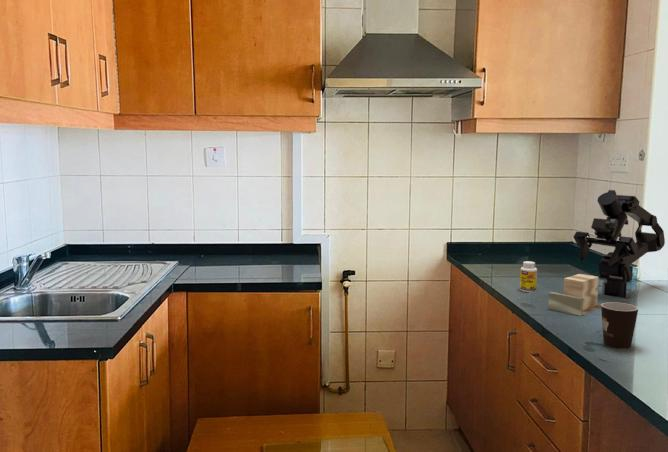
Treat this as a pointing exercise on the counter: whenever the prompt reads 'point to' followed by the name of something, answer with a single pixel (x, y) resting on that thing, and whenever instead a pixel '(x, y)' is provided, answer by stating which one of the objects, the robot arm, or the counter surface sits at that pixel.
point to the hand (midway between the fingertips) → (594, 262)
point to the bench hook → (568, 304)
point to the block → (582, 288)
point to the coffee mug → (618, 324)
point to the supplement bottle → (528, 277)
